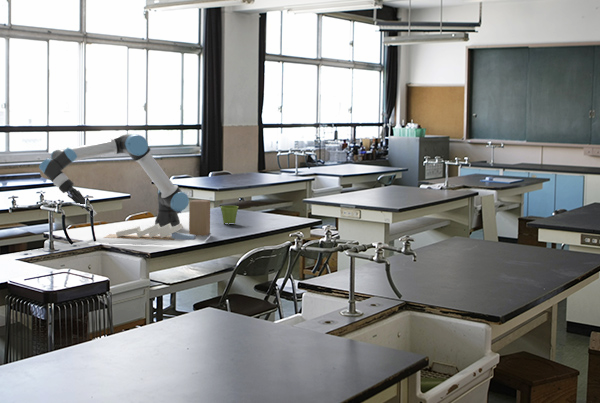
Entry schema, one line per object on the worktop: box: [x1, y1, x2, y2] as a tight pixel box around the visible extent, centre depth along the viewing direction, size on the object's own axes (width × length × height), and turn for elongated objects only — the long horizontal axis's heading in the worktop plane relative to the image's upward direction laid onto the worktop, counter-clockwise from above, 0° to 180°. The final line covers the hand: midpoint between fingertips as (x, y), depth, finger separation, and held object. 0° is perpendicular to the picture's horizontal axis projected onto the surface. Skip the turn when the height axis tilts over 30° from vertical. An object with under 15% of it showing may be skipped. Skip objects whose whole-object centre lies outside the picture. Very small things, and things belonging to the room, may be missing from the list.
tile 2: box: [136, 223, 162, 238], centre depth 367 cm, size 5×3×12 cm
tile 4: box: [159, 223, 184, 238], centre depth 366 cm, size 5×3×12 cm
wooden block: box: [188, 199, 211, 237], centre depth 381 cm, size 10×10×20 cm
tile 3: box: [148, 223, 173, 238], centre depth 366 cm, size 5×3×12 cm
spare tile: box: [115, 225, 142, 237], centre depth 367 cm, size 5×3×12 cm
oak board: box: [103, 233, 176, 241], centre depth 367 cm, size 12×38×1 cm, turn 89°
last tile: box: [170, 231, 196, 240], centre depth 366 cm, size 5×3×12 cm
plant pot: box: [219, 205, 239, 224], centre depth 427 cm, size 12×12×11 cm
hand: (94, 215), depth 366 cm, fingers closed
